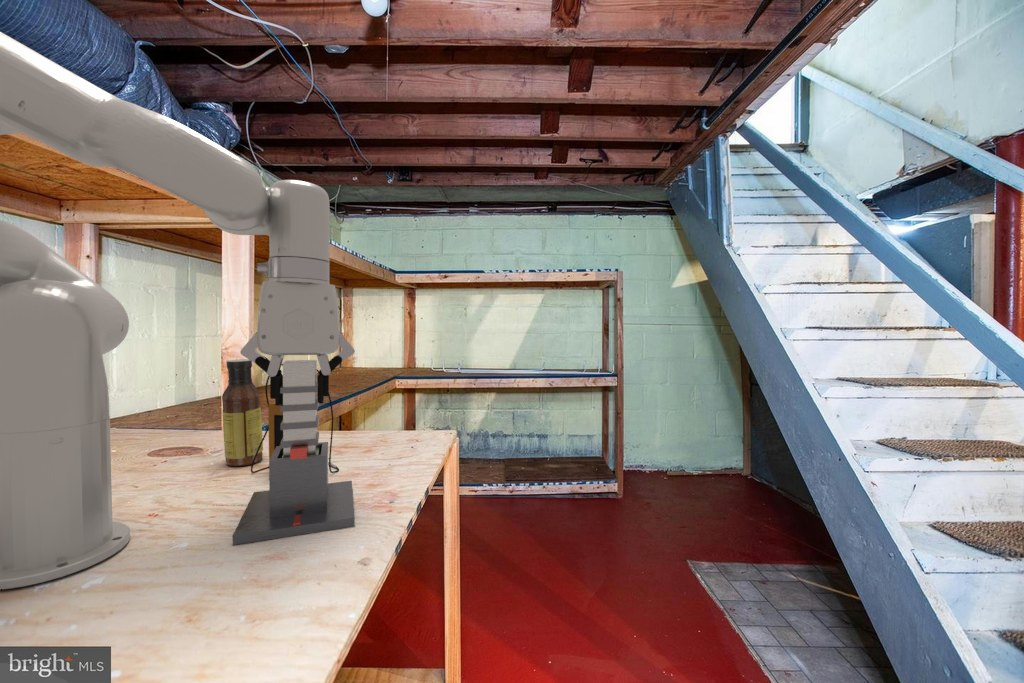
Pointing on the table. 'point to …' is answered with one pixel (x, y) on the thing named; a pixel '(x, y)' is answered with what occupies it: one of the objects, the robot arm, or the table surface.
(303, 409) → the column
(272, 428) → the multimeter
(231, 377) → the sauce bottle
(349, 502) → the stand base
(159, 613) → the table surface
